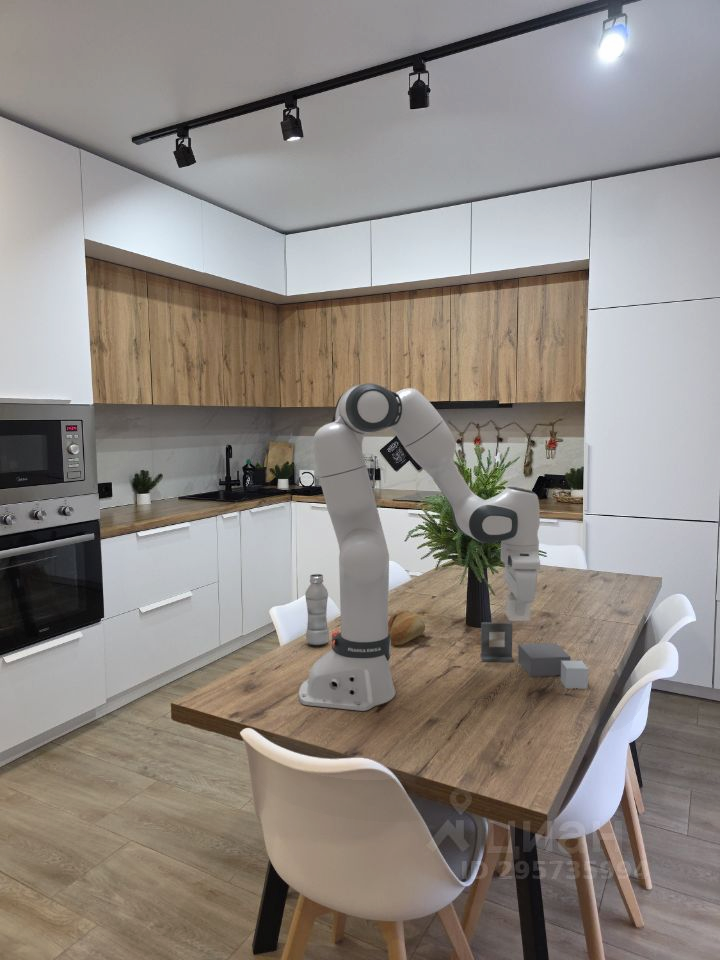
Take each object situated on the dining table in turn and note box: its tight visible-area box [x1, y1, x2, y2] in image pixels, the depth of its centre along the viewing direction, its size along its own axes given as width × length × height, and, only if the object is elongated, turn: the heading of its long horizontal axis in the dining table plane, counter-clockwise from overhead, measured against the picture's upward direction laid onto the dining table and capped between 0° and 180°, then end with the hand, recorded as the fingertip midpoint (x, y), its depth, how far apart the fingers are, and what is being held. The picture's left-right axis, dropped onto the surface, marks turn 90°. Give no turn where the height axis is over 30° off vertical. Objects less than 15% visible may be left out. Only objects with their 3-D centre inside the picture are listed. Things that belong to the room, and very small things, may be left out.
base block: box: [517, 642, 571, 677], centre depth 167 cm, size 10×10×5 cm
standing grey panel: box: [479, 622, 514, 663], centre depth 174 cm, size 8×4×10 cm, turn 87°
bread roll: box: [388, 610, 426, 646], centre depth 189 cm, size 10×15×8 cm, turn 149°
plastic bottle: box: [304, 573, 330, 646], centre depth 186 cm, size 6×7×20 cm
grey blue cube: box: [560, 660, 589, 690], centre depth 157 cm, size 5×5×5 cm
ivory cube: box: [505, 593, 532, 622], centre depth 158 cm, size 5×5×5 cm
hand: (517, 610), depth 158 cm, fingers closed on ivory cube, 5 cm apart
